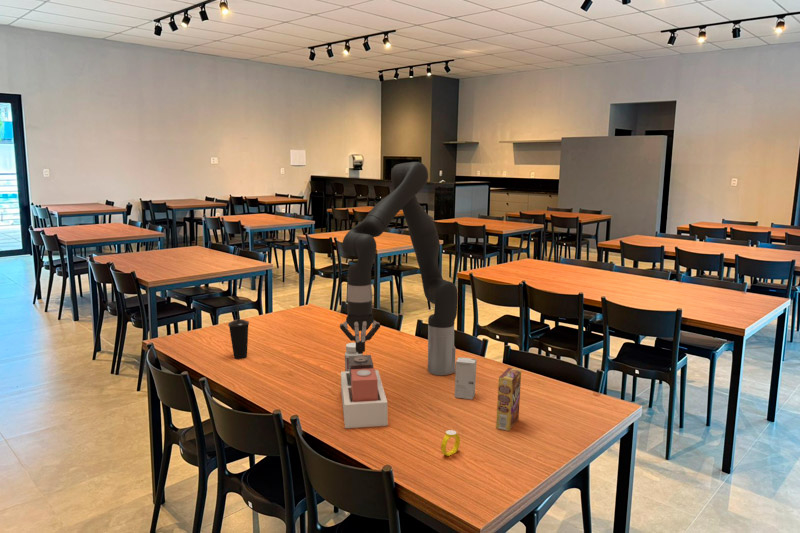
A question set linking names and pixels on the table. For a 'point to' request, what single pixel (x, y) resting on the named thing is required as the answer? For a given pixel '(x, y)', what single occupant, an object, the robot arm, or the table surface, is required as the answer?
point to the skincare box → (465, 378)
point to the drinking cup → (239, 337)
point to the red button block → (364, 385)
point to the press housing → (363, 406)
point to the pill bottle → (350, 354)
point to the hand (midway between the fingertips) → (360, 353)
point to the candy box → (508, 399)
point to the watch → (443, 446)
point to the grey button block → (359, 363)
